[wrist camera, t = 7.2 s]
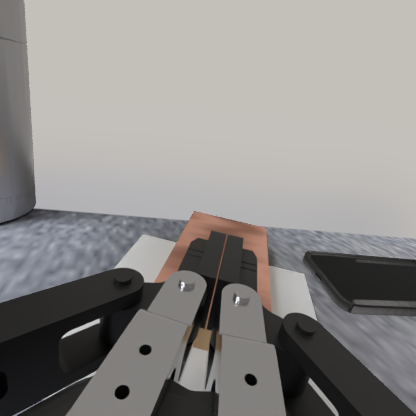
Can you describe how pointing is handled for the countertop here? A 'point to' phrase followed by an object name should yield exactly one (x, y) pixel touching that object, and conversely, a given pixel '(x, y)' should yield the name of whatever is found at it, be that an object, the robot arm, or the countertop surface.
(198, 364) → the white square pad
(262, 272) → the brown flat rectangular block
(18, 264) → the countertop surface
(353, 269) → the phone
